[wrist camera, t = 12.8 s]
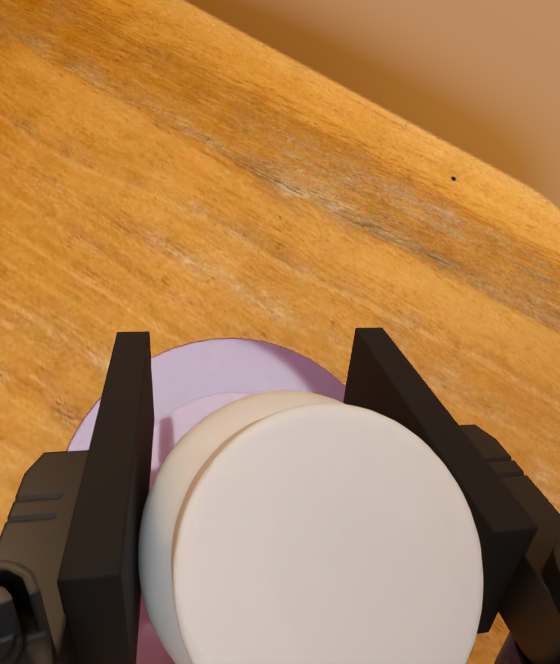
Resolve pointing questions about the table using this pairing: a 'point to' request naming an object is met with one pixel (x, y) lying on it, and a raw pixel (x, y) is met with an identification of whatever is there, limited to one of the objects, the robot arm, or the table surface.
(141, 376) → the robot arm
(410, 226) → the table surface
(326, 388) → the saucer
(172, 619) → the pill bottle
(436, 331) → the table surface
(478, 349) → the table surface
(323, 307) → the table surface
